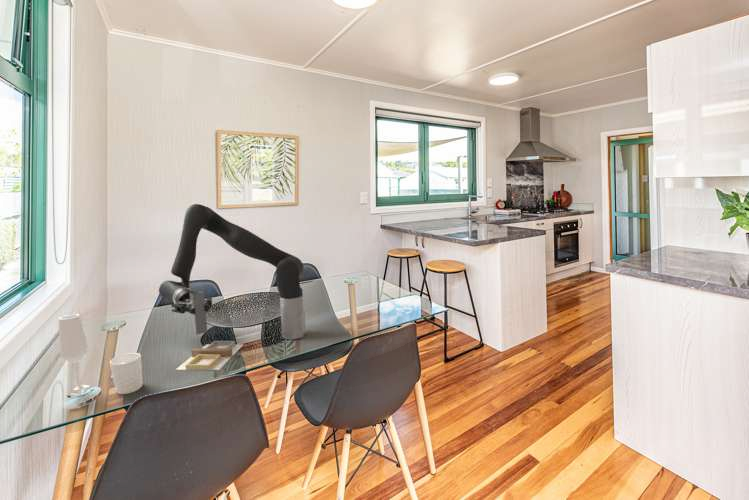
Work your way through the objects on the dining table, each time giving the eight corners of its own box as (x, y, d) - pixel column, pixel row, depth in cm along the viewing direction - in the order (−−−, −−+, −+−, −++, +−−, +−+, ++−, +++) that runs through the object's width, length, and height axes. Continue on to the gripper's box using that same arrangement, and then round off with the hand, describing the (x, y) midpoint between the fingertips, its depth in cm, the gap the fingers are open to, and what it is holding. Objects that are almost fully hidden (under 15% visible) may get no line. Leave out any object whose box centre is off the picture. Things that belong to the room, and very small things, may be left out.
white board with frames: (206, 346, 141) (205, 338, 140) (244, 346, 140) (243, 338, 140) (175, 372, 121) (174, 362, 120) (219, 372, 120) (218, 362, 119)
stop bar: (204, 329, 125) (200, 290, 123) (207, 331, 123) (203, 292, 120) (193, 331, 123) (189, 292, 121) (196, 334, 120) (192, 294, 118)
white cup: (126, 382, 115) (122, 352, 113) (150, 381, 115) (146, 352, 113) (107, 395, 107) (102, 364, 106) (133, 395, 107) (129, 364, 105)
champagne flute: (60, 396, 107) (47, 320, 103) (82, 385, 114) (70, 312, 110) (79, 398, 106) (67, 321, 102) (100, 386, 112) (89, 313, 109)
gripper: (163, 293, 127) (176, 303, 114) (205, 285, 136) (221, 295, 123) (165, 313, 128) (178, 326, 115) (207, 304, 137) (223, 315, 124)
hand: (200, 310), depth 119 cm, fingers closed on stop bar, 3 cm apart
